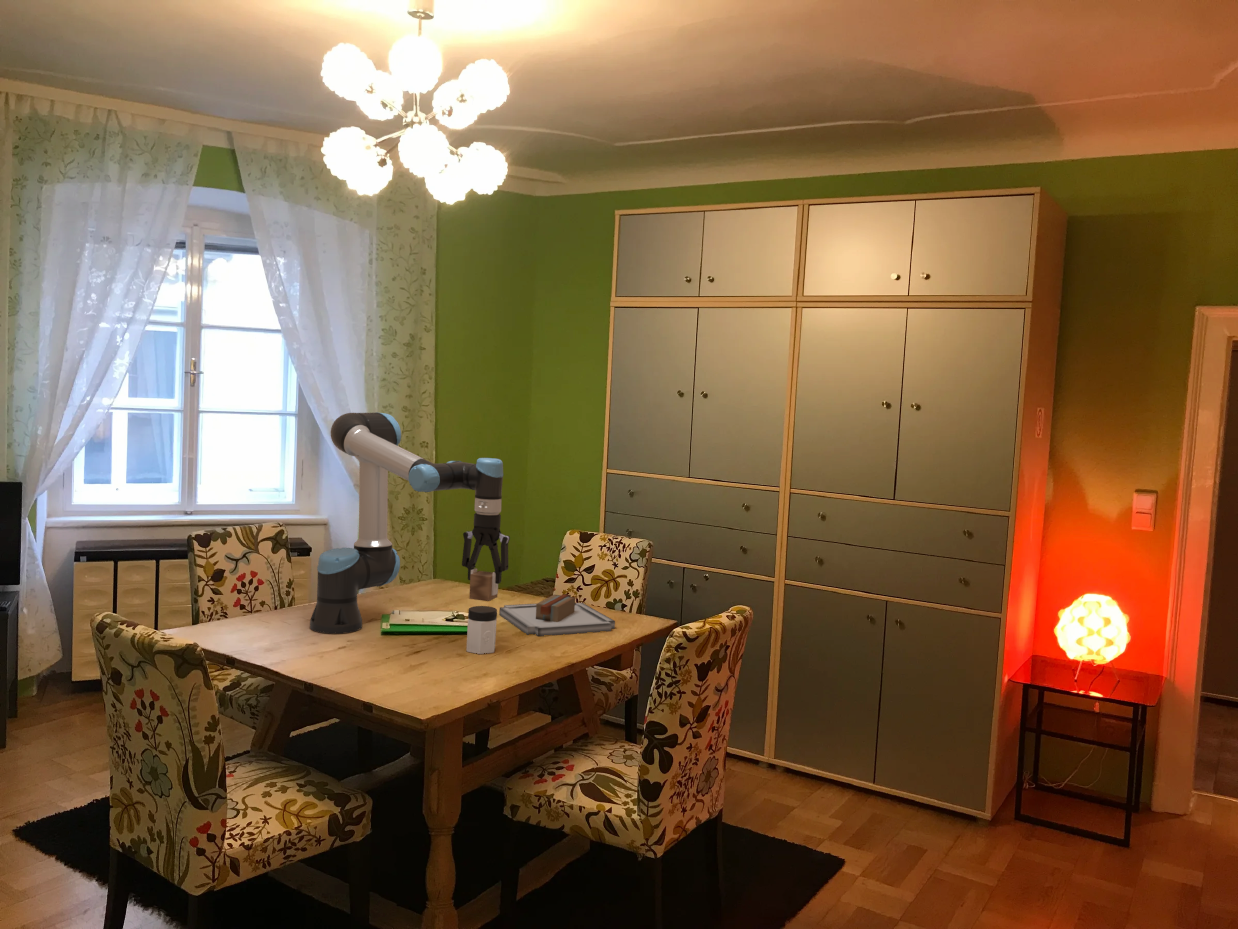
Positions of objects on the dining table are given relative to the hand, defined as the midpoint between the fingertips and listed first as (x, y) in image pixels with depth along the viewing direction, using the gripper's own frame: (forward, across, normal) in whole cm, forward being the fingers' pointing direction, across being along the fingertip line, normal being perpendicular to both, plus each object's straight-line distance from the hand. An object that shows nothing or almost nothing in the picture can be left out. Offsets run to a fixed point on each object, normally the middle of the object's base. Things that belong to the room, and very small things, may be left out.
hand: (483, 592), depth 281 cm
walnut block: (+1, 0, 0) cm, 1 cm away
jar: (+17, 0, 0) cm, 17 cm away
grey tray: (+18, +8, +41) cm, 45 cm away
